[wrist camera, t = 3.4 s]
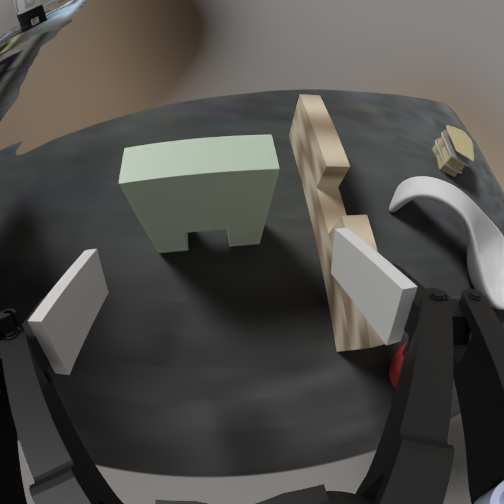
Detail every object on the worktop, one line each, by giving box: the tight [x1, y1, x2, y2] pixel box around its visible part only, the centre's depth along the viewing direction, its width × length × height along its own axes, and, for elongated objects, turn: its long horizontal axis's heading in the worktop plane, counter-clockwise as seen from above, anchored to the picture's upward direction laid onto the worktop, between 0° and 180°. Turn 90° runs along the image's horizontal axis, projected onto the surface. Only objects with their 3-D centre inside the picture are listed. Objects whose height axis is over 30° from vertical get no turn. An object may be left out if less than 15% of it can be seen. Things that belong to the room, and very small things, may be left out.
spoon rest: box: [389, 176, 504, 310], centre depth 27 cm, size 24×12×7 cm, turn 57°
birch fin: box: [289, 94, 385, 352], centre depth 26 cm, size 26×2×7 cm, turn 7°
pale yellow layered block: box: [433, 125, 474, 177], centre depth 34 cm, size 10×9×6 cm
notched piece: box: [119, 135, 279, 253], centre depth 22 cm, size 10×3×12 cm, turn 97°
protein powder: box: [12, 0, 47, 30], centre depth 44 cm, size 10×24×30 cm, turn 70°
